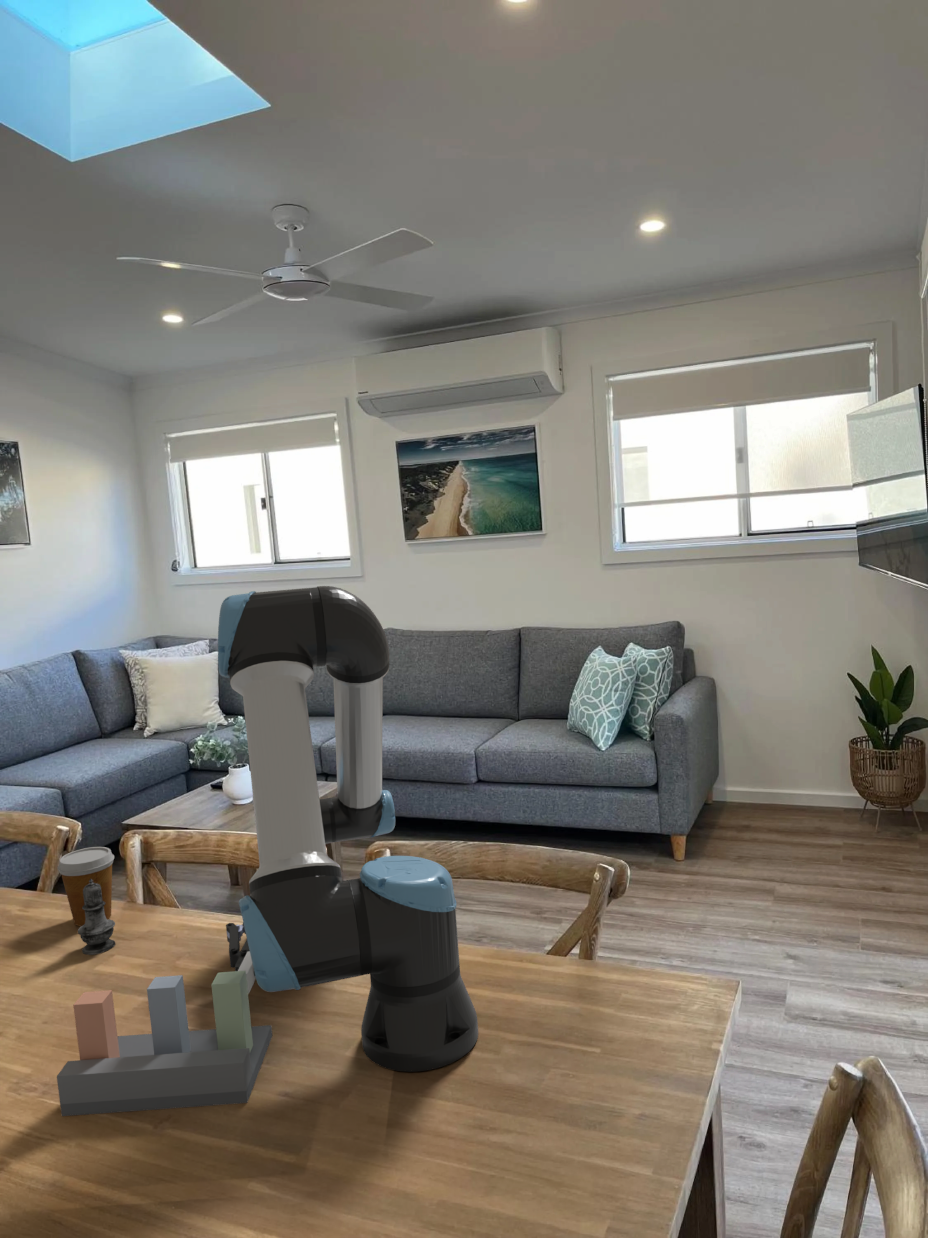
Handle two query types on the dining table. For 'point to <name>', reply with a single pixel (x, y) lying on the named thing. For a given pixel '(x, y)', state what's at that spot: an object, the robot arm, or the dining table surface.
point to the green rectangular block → (232, 1011)
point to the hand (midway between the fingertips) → (242, 984)
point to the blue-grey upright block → (168, 1015)
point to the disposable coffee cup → (86, 878)
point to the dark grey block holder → (163, 1075)
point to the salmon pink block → (96, 1025)
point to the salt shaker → (95, 922)
